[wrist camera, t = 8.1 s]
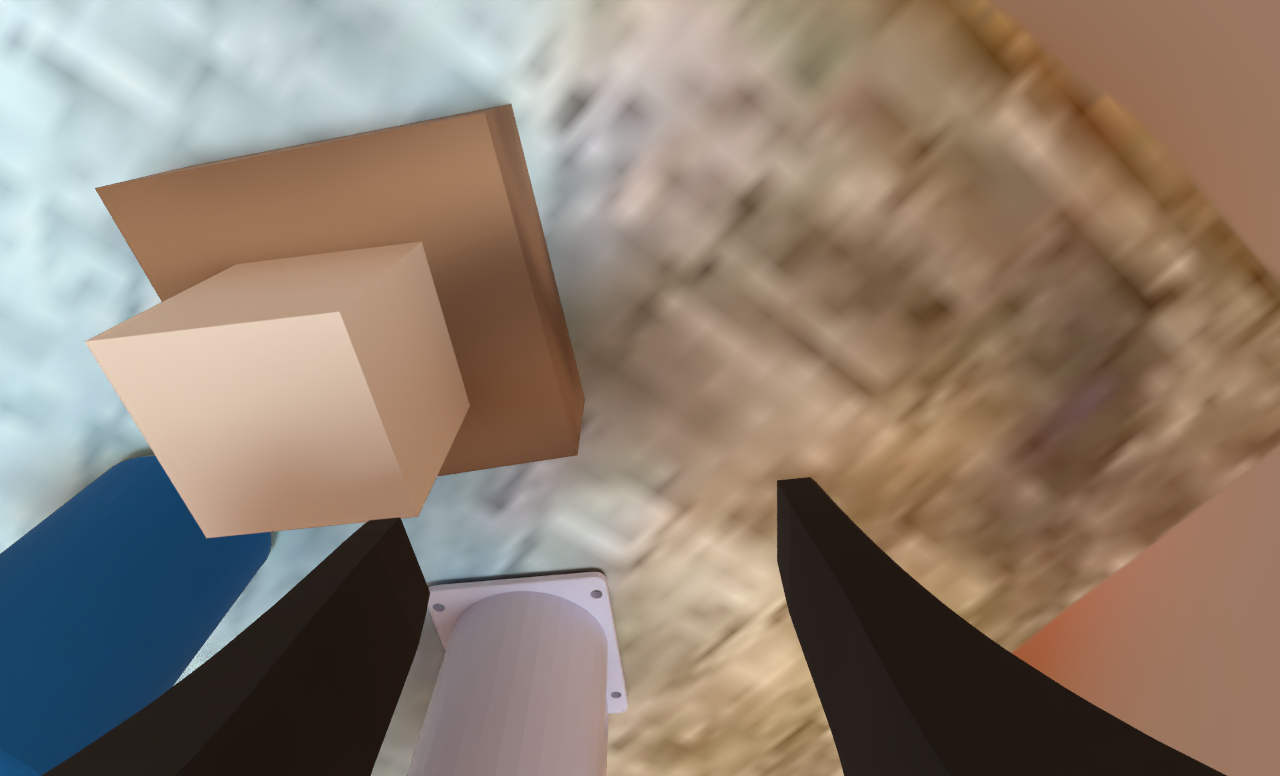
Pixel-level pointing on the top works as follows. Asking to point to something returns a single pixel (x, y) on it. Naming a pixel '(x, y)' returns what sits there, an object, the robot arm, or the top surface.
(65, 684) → the beverage can
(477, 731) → the robot arm
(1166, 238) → the top surface
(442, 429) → the cube
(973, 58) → the top surface
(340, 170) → the walnut box
